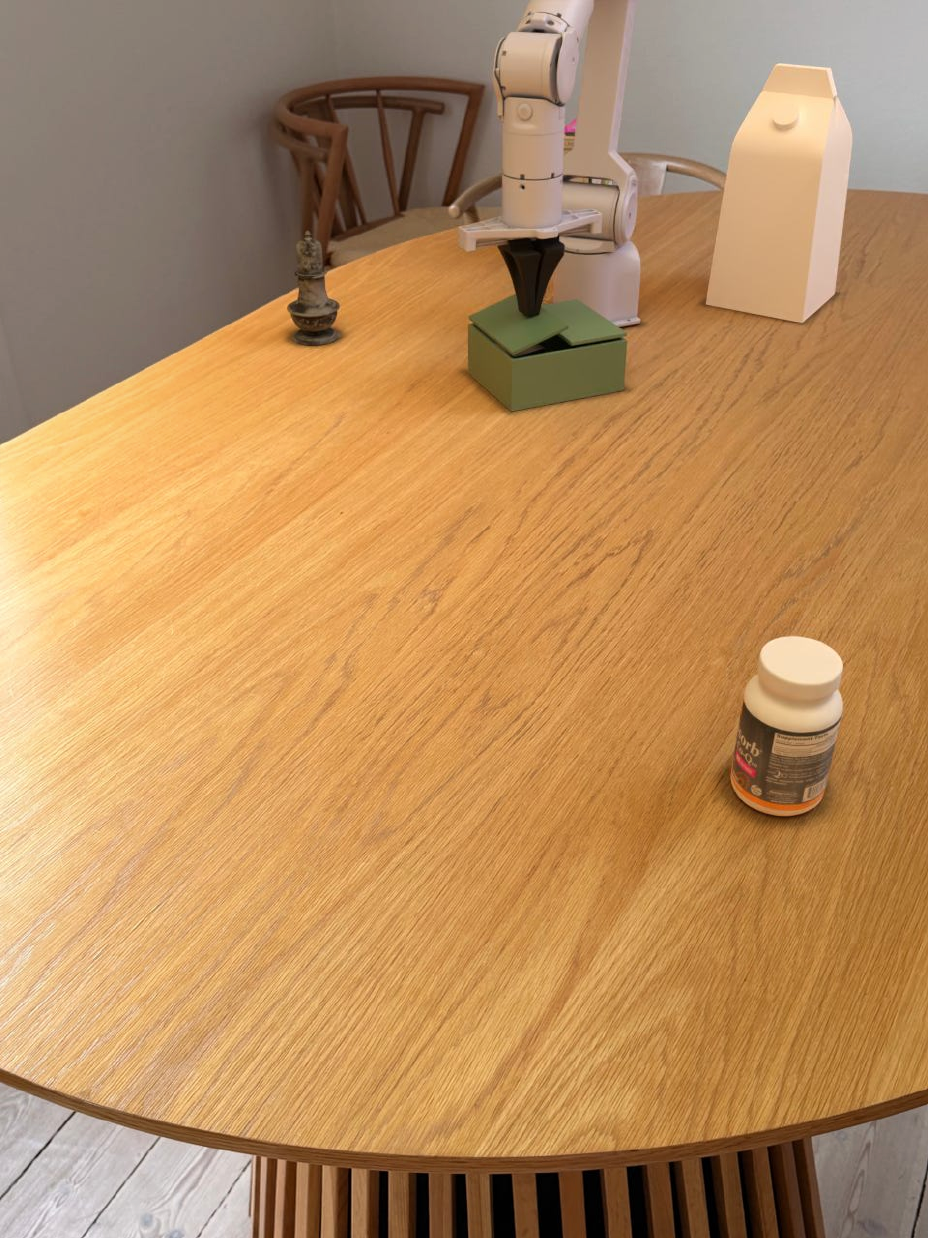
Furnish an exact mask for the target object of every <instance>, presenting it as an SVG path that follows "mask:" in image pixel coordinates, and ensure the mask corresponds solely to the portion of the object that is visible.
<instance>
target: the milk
mask: <svg viewBox="0 0 928 1238" xmlns="http://www.w3.org/2000/svg"><path fill="white" fill-rule="evenodd" d="M853 140H854V139H853V130H852V126H851V123H850V121H849V119H848V117H847V115H846V112H845V110H844V108H843V105H842V102H841V100H840V98H839V97H838V92H837V87H836V83H835V79H834V75H833V71H832V68H831V67H823V66H813V65H802V64H791V63H782V62H781V63H780V62H778V63H777V64H775V65H774V66H773V67H772V70H771V72H770V74H769V76H768V78H767V80H766V82H765V83H764V86H763V88H762V91H761V92H760V93H759V94H758V96H757V97H756V100H755V101H754V103H753V105H752V106H751V108H750V109H749V111H748V113H747V115H746V117H745V118H744V120H743V121H742V123H741V125H740V127H739V128H738V131H737V132H736V134H735V136H734V138H733V141H732V144H731V147H730V151H729V158H728V164H727V170H726V177H725V182H724V189H723V193H722V194H723V195H722V201H721V206H720V212H719V218H718V219H719V220H718V226H717V232H716V237H715V244H714V250H713V255H712V256H713V257H712V261H711V269H710V273H709V274H710V276H709V281H708V287H707V294H706V299H705V305H706V306H711V307H716V308H722V309H728V310H731V311H738V312H742V313H747V314H751V315H752V314H753V315H757V316H761V317H762V316H763V317H768V318H774V319H779V320H782V321H783V320H784V321H789V322H794V323H800V324H804V323H805V322H806V321H807V320H808V319H809V318H810V317H811V316H812V315H813V314H815V313H816V312H817V311H818V310H819V309H820V308H821V307H823V306H824V304H826V303H827V302H828V301H829V300H830V299H831V298H833V297H834V296H835V294H836V288H837V278H838V269H839V261H840V253H841V244H842V235H843V229H844V228H843V227H844V220H845V219H844V218H845V210H846V203H847V195H848V194H847V193H848V184H849V176H850V167H851V159H852V150H853Z"/></svg>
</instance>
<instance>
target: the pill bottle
mask: <svg viewBox="0 0 928 1238" xmlns="http://www.w3.org/2000/svg"><path fill="white" fill-rule="evenodd" d="M843 664H844V663H843V660H842V658H841V656H840V655H839V653H837V651H836V650H835V649H834V648H832V647H831V646H829V645H827V644H825V643H824V642H822V641H819V640H817V639H813V638H809V637H805V636H798V635H797V636H795V635H790V636H789V635H788V636H781V637H777V638H774V639H771V640H769V641H768V642H766V643H765V644H764V645H763V646H762V647H761V650H760V651H759V655H758V660H757V666H756V674H755V675H753V677H752V678H750V679H749V681H748V682H747V684H746V685H745V687H744V691H743V697H742V702H741V707H740V713H739V721H738V726H737V727H738V728H737V732H736V739H735V745H734V751H733V757H732V762H731V767H730V784H731V786H732V788H733V791H734V792H735V794H736V795H737V797H738V798H739V799H740V800H741V801H742V802H743V803H745V804H746V805H747V806H749V807H750V808H752V809H754V810H756V811H757V812H761V813H763V814H767V815H771V816H776V817H792V816H798V815H802V814H805V813H807V812H809V811H812V809H814V808H815V807H816V806H817V805H819V803H820V802H821V801H822V799H823V797H824V794H825V791H826V787H827V783H828V778H829V775H830V770H831V765H832V761H833V757H834V752H835V748H836V743H837V739H838V734H839V730H840V725H841V720H842V718H843V717H842V716H843V711H844V702H843V698H842V697H843V696H842V694H841V692H840V690H839V688H840V685H841V681H842V675H843V672H844V671H843V670H844V665H843Z"/></svg>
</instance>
